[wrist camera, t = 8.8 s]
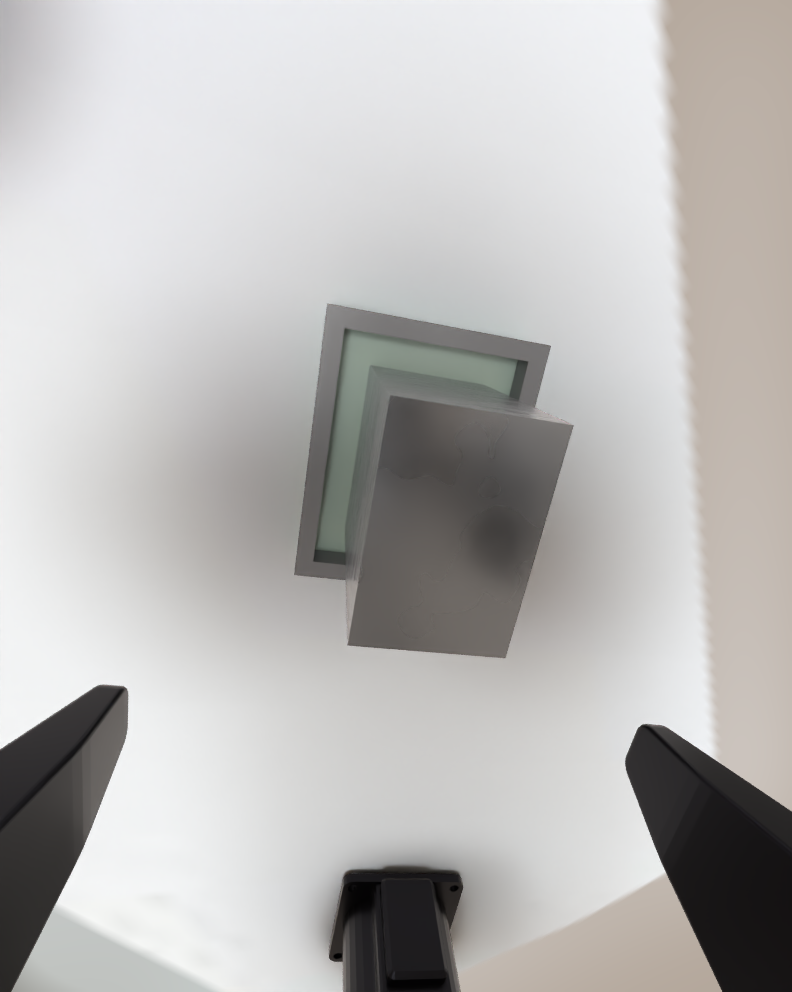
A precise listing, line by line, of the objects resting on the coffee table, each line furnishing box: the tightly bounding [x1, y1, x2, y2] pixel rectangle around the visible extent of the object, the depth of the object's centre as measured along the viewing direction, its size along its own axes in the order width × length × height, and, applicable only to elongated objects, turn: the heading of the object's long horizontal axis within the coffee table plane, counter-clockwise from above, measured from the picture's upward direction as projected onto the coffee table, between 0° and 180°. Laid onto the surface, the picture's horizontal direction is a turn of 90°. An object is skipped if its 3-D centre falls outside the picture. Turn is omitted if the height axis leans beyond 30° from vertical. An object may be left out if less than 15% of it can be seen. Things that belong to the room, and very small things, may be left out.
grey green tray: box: [294, 304, 551, 580], centre depth 18 cm, size 9×7×2 cm
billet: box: [345, 365, 573, 658], centre depth 14 cm, size 6×4×7 cm, turn 170°
